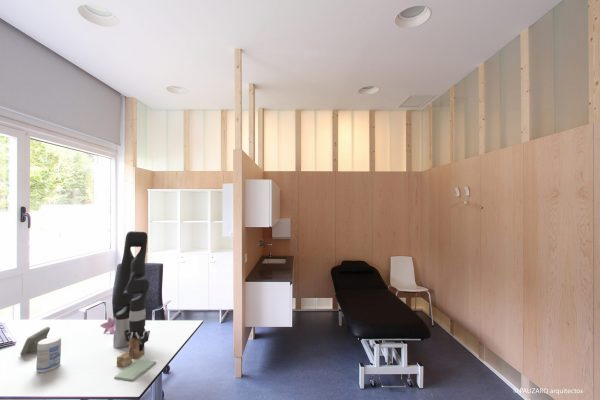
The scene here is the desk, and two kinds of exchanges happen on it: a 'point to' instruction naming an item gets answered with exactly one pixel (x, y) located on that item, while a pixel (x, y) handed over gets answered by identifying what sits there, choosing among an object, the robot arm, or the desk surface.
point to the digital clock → (34, 341)
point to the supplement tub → (48, 354)
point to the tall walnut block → (135, 349)
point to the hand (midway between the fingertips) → (136, 349)
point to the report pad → (135, 370)
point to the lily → (109, 325)
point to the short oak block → (123, 359)
